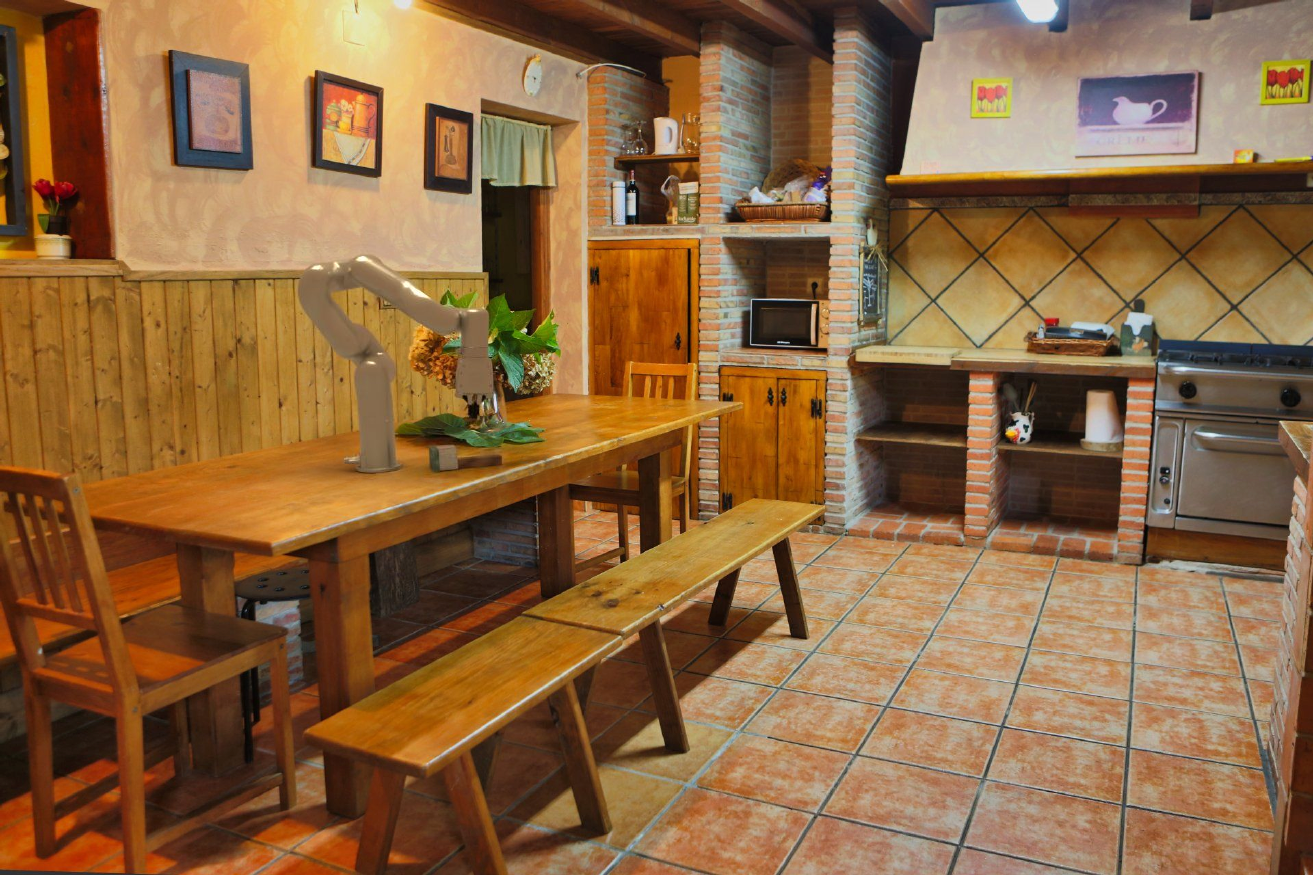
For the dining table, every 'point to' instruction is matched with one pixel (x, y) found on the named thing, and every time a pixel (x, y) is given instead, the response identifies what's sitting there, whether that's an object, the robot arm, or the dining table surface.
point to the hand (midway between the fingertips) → (473, 418)
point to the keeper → (447, 457)
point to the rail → (464, 460)
